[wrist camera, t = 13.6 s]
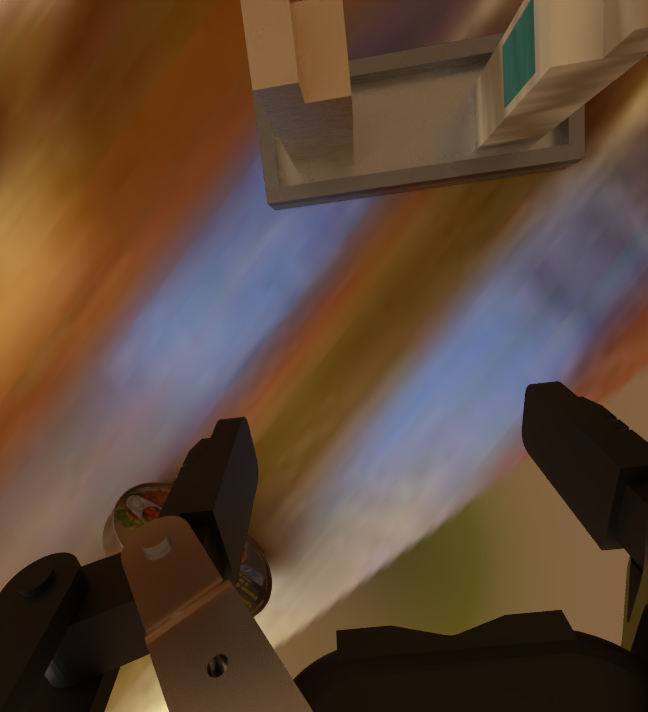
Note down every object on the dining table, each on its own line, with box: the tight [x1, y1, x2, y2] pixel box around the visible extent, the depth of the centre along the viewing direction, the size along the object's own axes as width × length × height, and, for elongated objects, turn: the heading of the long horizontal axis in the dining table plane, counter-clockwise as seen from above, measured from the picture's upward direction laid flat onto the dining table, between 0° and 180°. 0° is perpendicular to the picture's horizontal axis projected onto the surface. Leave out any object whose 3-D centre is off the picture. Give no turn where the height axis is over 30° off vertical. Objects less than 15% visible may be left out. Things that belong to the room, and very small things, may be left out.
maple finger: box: [475, 0, 648, 149], centre depth 21 cm, size 4×4×13 cm
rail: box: [240, 0, 585, 210], centre depth 23 cm, size 22×8×14 cm, turn 97°
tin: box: [103, 483, 272, 618], centre depth 33 cm, size 15×3×8 cm, turn 53°
